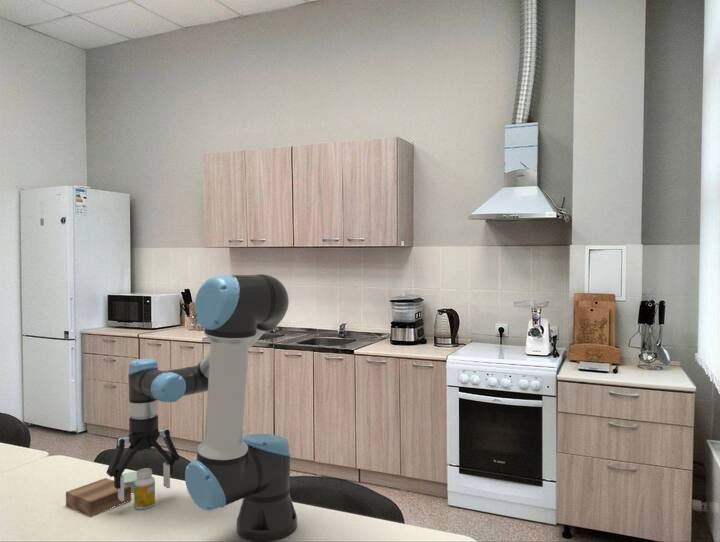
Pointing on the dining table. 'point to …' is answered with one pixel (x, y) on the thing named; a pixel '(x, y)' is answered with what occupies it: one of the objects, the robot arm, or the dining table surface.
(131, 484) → the greygreen block
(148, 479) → the supplement bottle
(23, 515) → the dining table surface
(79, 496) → the walnut block
